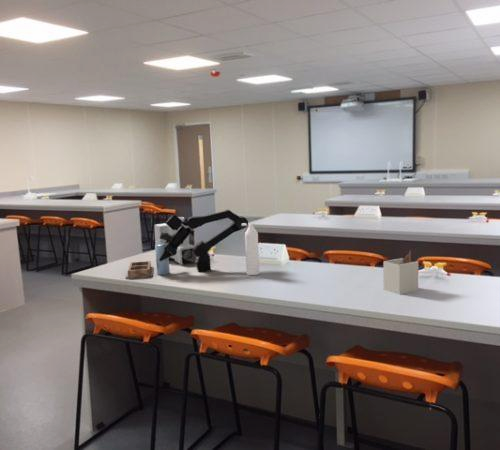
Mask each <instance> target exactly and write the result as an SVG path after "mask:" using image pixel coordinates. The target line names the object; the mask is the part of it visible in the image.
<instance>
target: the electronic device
mask: <svg viewBox="0 0 500 450" xmlns="http://www.w3.org/2000/svg"><path fill="white" fill-rule="evenodd" d="M177 217H178V218H180V219H181V220H185V217H184V216H177ZM165 223H166V222H165ZM165 223H157V224H154V242H155V243H154V246H155V245H156V244H164V243H165V241H166V240H164V239H160V235H161V233H162V232H166V233H168V234H170V235H173V234H176V233H177V231H178V230H179V229H180V228H181V227H182V226H181V227H180V228H179V229H178V230H174V231H173V230H172V229H171V228H170V227H169V226H168V225H167V224H165ZM182 225H183V224H182ZM183 226H184V225H183ZM184 227H188V228H190V227H189V226H184ZM165 244H167V243H165ZM195 246H196V244H195V245H193V244H190V235H189V236H188V237H187V238H186V239H185V240H184V241H183V243H182V244H181V245H180V246H179V247H178V249H177V253H176V254H175V256H174V255H173V256H171V257H169V261H175V262H176V263H179V265H180V266H184V263H183V262H184V261H192V262H194V264H197V261H198V258H199V257H197V256H196V255H195V253H194V247H195Z"/></svg>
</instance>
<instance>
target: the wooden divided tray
mask: <svg viewBox="0 0 500 450" xmlns="http://www.w3.org/2000/svg"><path fill="white" fill-rule="evenodd" d="M126 272H127V273H126V276H125V279H126V280H128V279H130V280H131V279H143V278H153V274H154V266H152V265H151V260H148V261H144V260H143V261H133V262H132V261H131V262H130V264H129V266H128V269H127V271H126Z"/></svg>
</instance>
